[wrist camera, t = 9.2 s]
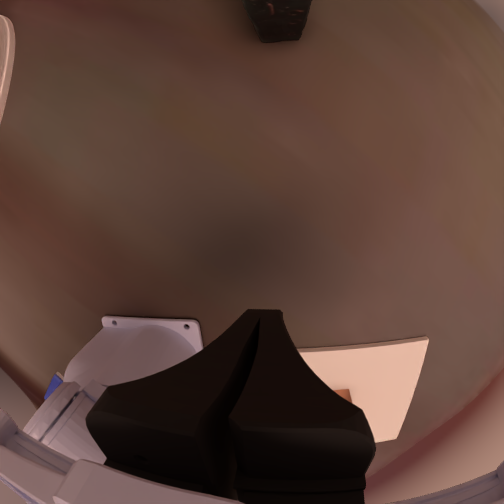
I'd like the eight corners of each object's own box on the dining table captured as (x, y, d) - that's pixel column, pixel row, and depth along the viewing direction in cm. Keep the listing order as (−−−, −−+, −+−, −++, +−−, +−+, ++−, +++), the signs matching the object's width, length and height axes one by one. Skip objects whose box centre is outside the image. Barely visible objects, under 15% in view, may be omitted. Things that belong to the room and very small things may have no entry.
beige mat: (238, 445, 27) (237, 449, 27) (221, 349, 24) (220, 353, 23) (395, 434, 25) (396, 438, 25) (426, 336, 22) (428, 339, 21)
